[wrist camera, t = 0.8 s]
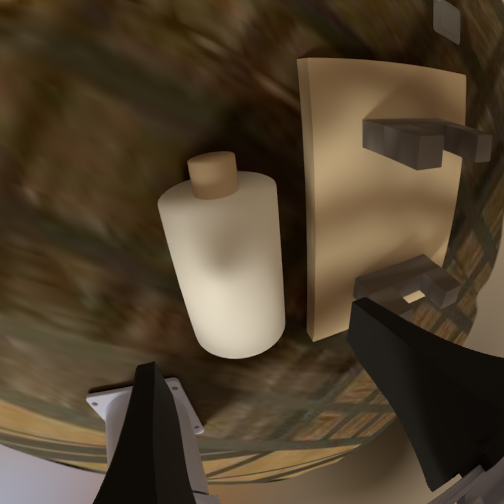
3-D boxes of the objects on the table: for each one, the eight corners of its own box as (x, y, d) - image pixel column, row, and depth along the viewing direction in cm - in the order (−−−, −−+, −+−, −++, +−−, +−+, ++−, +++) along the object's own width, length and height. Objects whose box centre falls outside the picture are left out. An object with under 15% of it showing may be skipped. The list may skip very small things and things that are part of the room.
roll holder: (427, 283, 26) (465, 319, 22) (306, 331, 24) (340, 384, 19) (453, 73, 16) (515, 85, 12) (296, 59, 14) (361, 53, 9)
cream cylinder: (266, 302, 21) (300, 356, 17) (192, 325, 20) (212, 386, 16) (249, 137, 15) (295, 159, 11) (148, 159, 14) (153, 191, 10)
